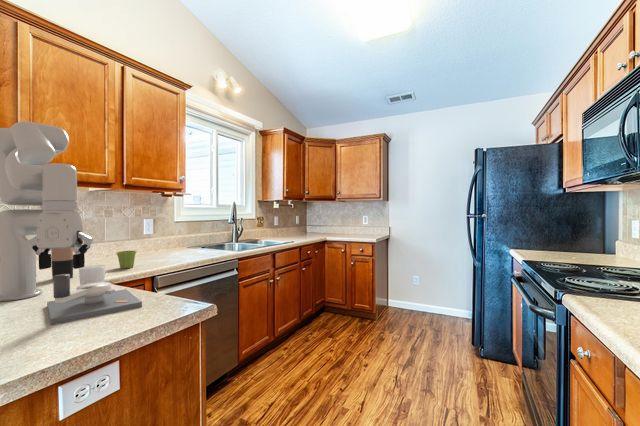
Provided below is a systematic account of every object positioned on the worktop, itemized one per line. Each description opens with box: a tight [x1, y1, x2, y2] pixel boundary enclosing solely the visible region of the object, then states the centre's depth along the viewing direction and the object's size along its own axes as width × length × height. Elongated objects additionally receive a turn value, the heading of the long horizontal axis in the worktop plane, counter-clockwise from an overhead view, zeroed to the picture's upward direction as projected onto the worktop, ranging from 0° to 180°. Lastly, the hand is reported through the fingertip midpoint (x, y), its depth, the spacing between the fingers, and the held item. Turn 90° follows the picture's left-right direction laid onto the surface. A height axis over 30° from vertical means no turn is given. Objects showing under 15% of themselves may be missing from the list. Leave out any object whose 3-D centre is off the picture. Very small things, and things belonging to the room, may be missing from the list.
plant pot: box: [115, 250, 137, 270], centre depth 163 cm, size 9×9×9 cm
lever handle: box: [52, 274, 116, 303], centre depth 94 cm, size 20×10×8 cm, turn 179°
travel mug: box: [50, 247, 74, 279], centre depth 138 cm, size 8×8×20 cm
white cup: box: [78, 264, 106, 286], centre depth 114 cm, size 8×8×10 cm
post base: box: [46, 288, 143, 326], centre depth 98 cm, size 22×22×4 cm
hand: (62, 268), depth 85 cm, fingers open, 9 cm apart
